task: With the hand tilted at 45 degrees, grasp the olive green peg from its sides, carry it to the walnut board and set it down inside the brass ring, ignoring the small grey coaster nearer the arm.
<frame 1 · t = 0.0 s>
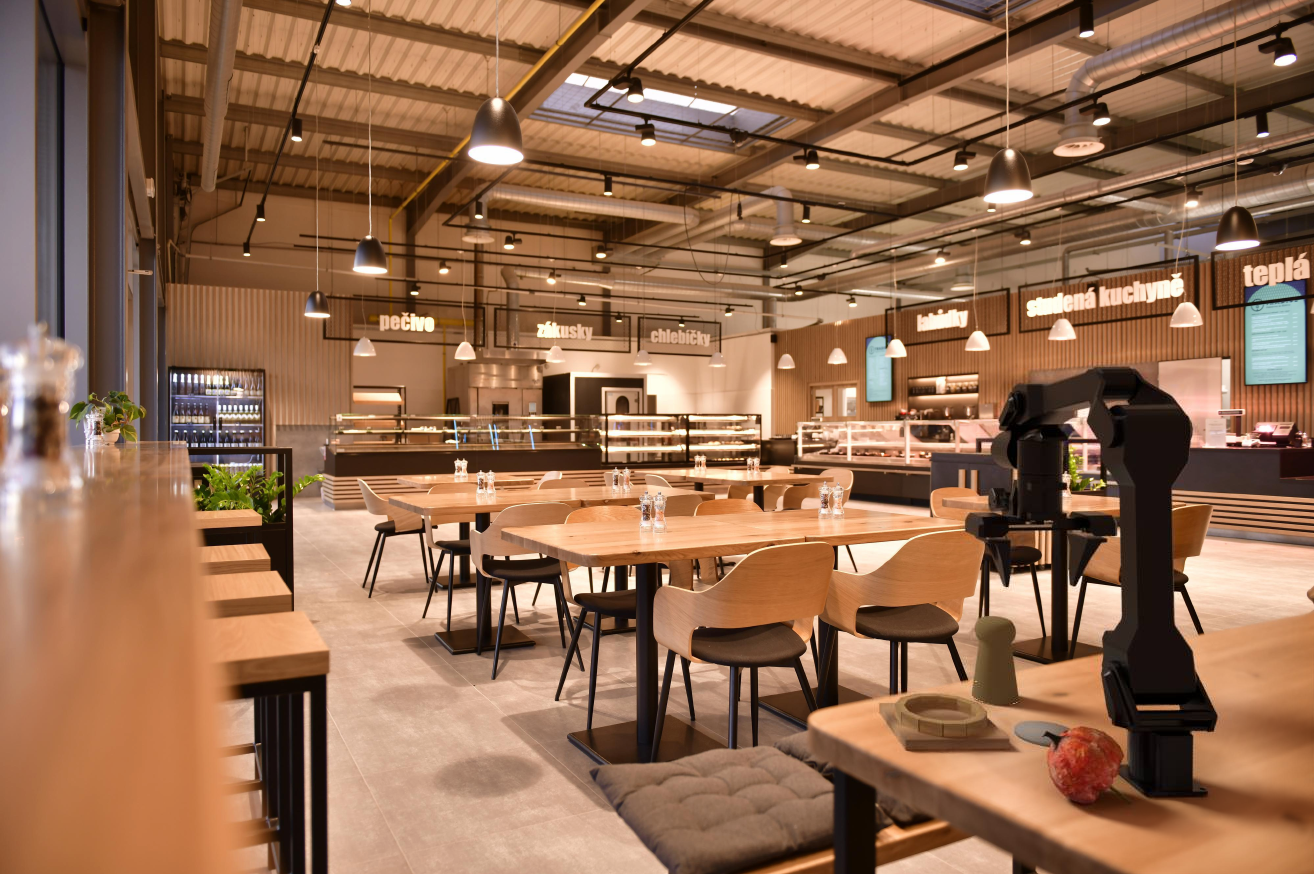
hand: (1039, 586, 116), 15 cm above the table, tool pointing down, fingers open, 9 cm apart
grey coaster: (1045, 734, 101), on the table
hub board: (940, 729, 103), on the table
pomegranate: (1087, 799, 85), on the table
olive green peg: (995, 699, 114), on the table
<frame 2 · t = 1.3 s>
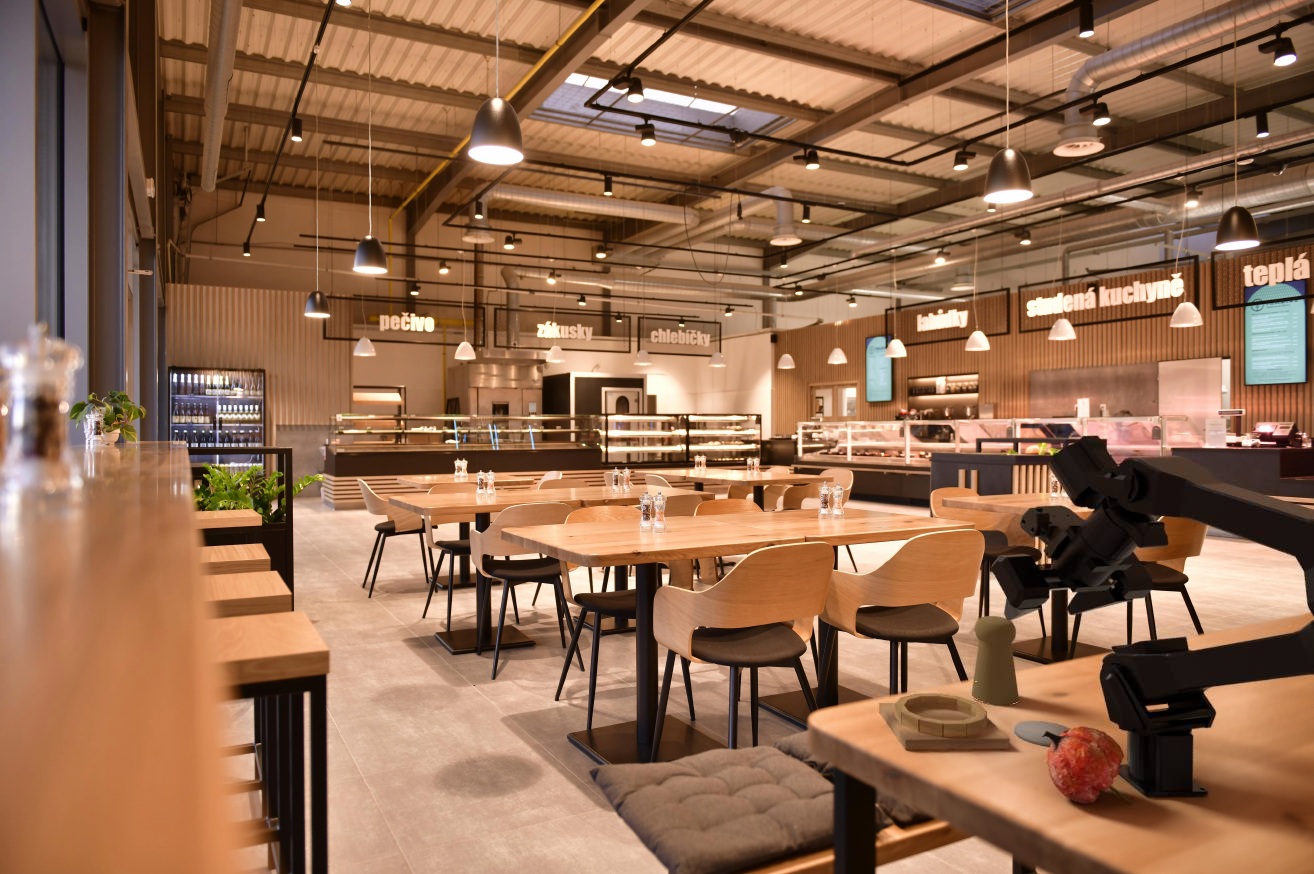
hand: (1038, 614, 105), 13 cm above the table, tool tilted 45°, fingers open, 9 cm apart
nothing on the table moved.
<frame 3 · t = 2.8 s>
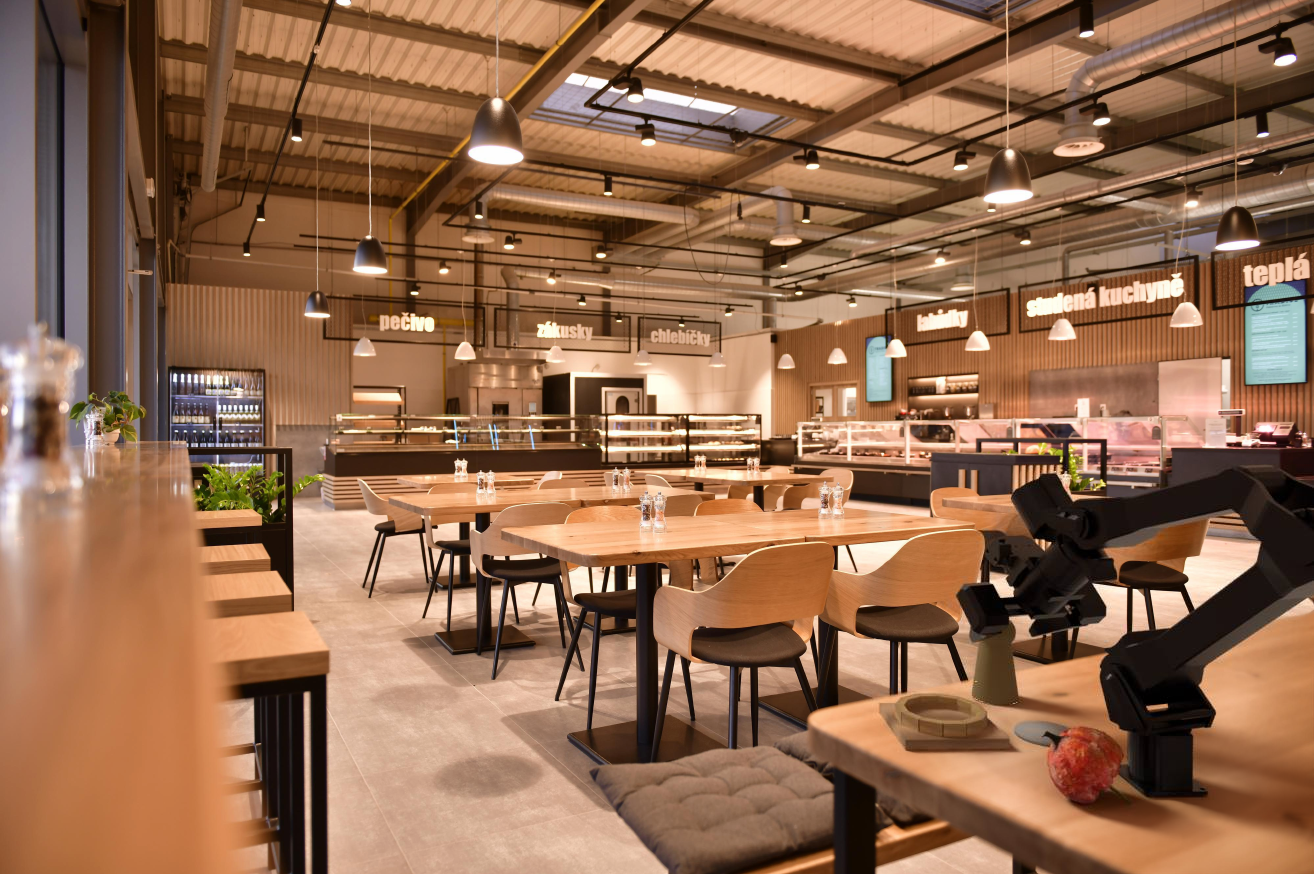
hand: (1001, 636, 112), 9 cm above the table, tool tilted 45°, fingers open, 9 cm apart
nothing on the table moved.
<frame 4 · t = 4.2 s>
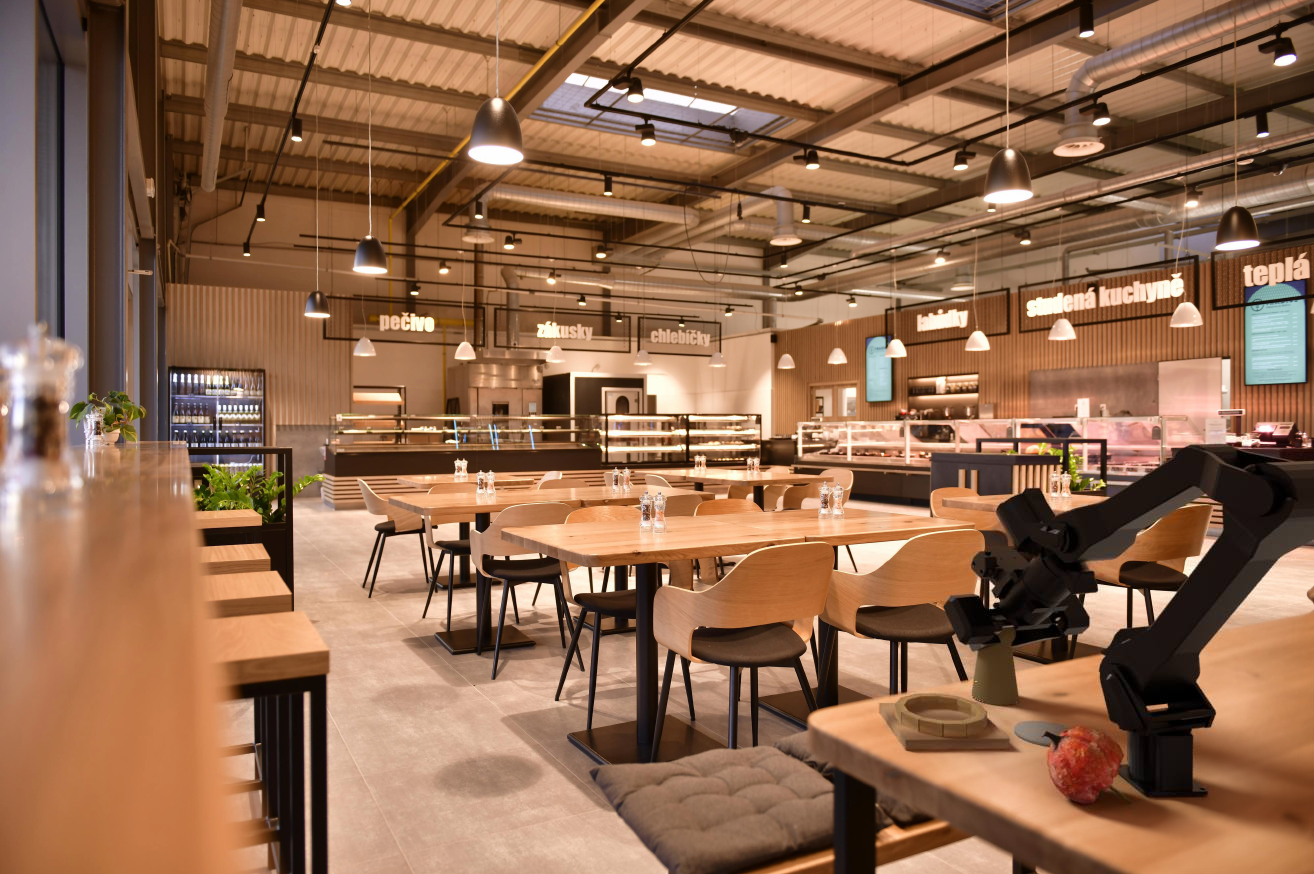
hand: (988, 646, 115), 7 cm above the table, tool tilted 45°, fingers closed on olive green peg, 5 cm apart
olive green peg: (995, 699, 114), on the table, touching gripper
everything else where it was.
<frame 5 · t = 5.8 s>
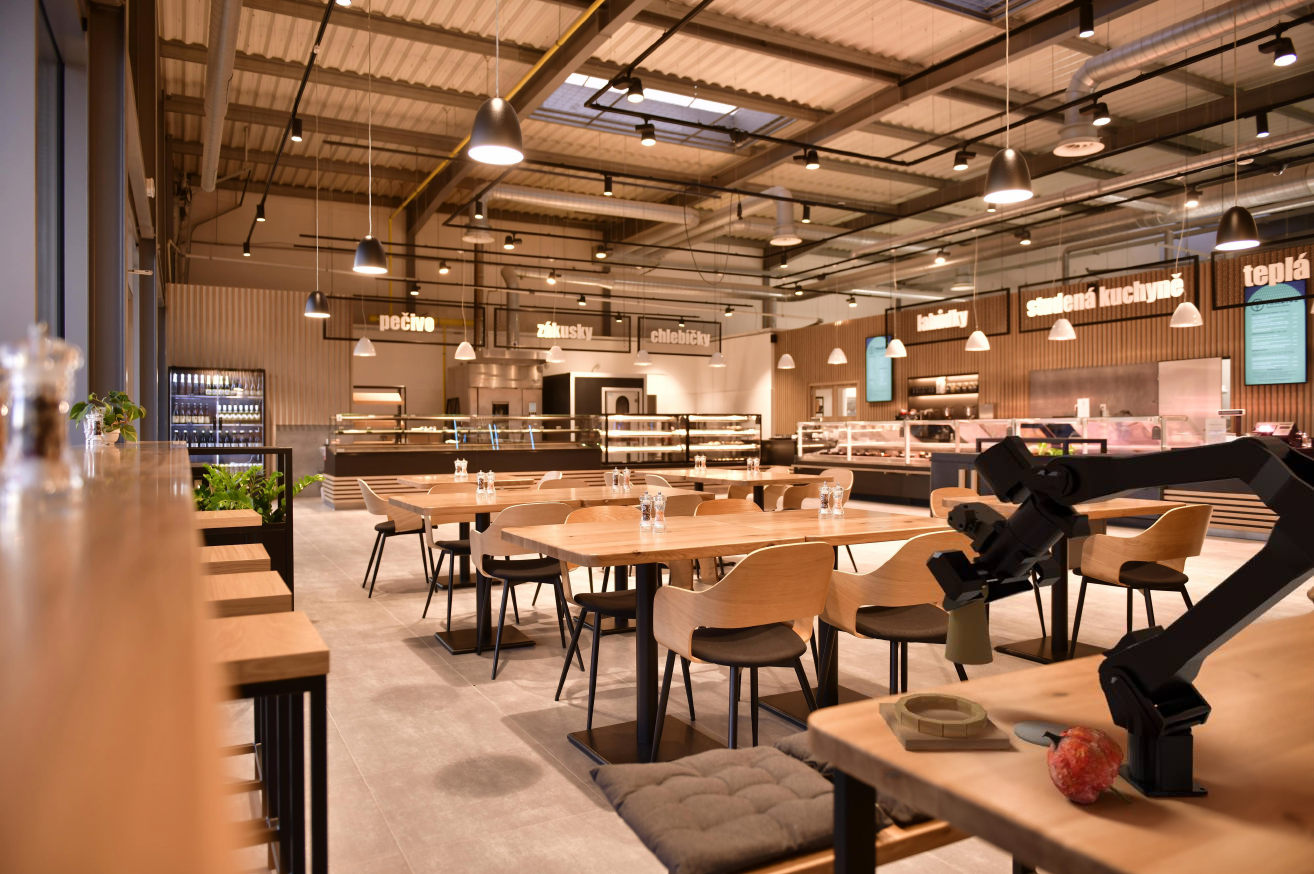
hand: (959, 606, 111), 13 cm above the table, tool tilted 45°, fingers closed on olive green peg, 5 cm apart
olive green peg: (968, 659, 110), point 6 cm above the table, touching gripper
everything else where it was.
when the fingers open (9 cm above the table, at t = 7.7 s): olive green peg drops 1 cm, resting on hub board.
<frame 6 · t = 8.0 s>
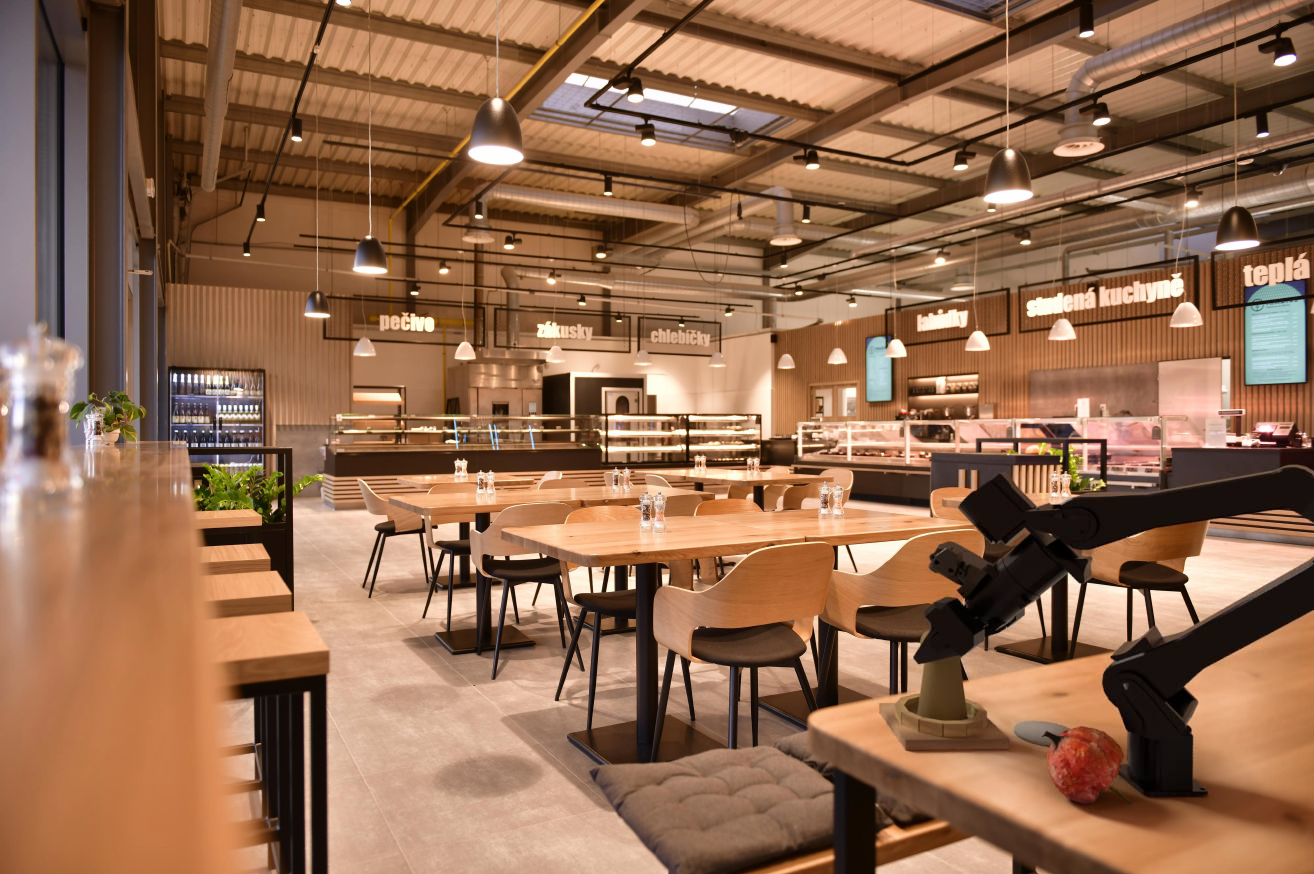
hand: (929, 653, 104), 9 cm above the table, tool tilted 45°, fingers open, 8 cm apart
olive green peg: (942, 721, 103), point 1 cm above the table, touching hub board
everything else where it was.
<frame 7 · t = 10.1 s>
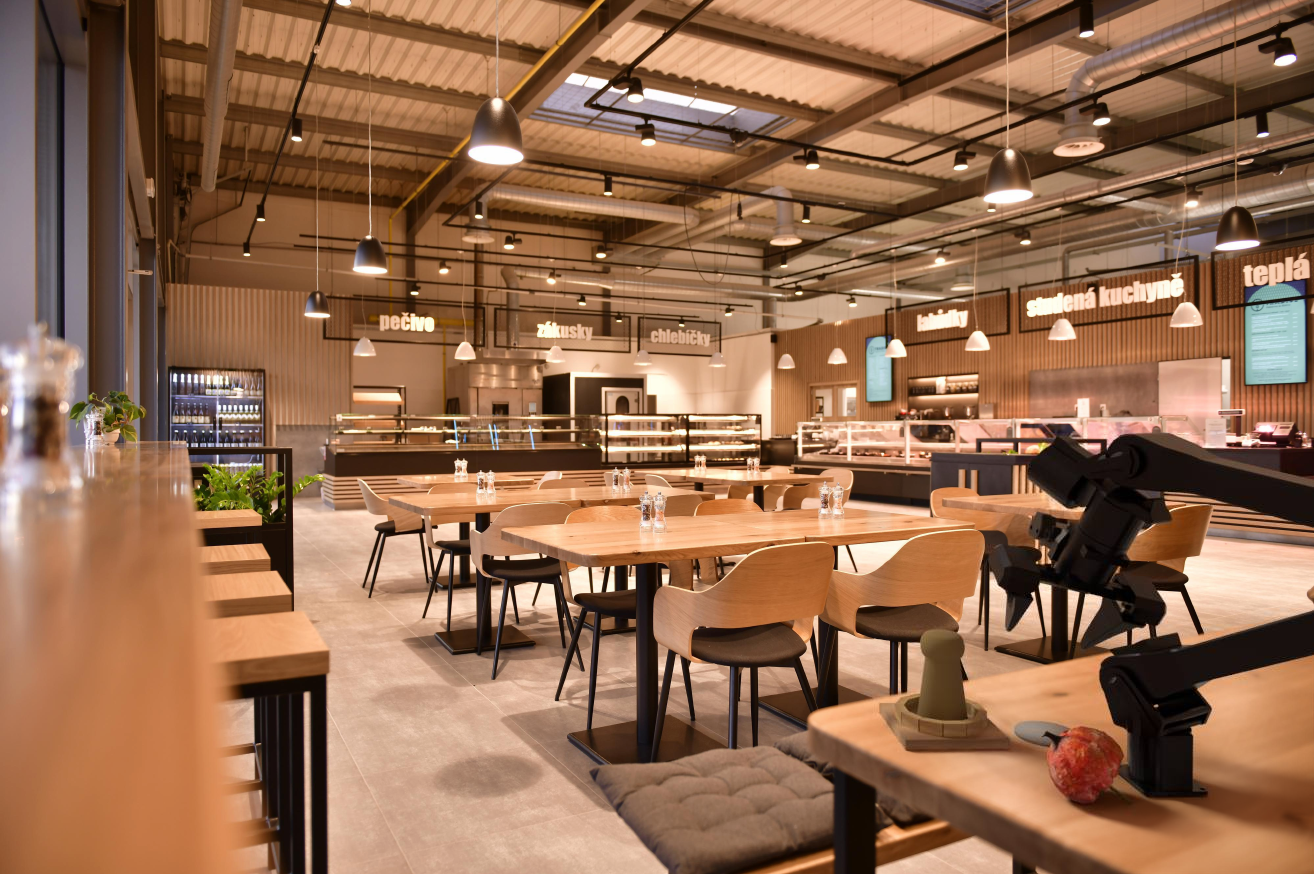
hand: (1044, 638, 100), 12 cm above the table, tool tilted 30°, fingers open, 9 cm apart
nothing on the table moved.
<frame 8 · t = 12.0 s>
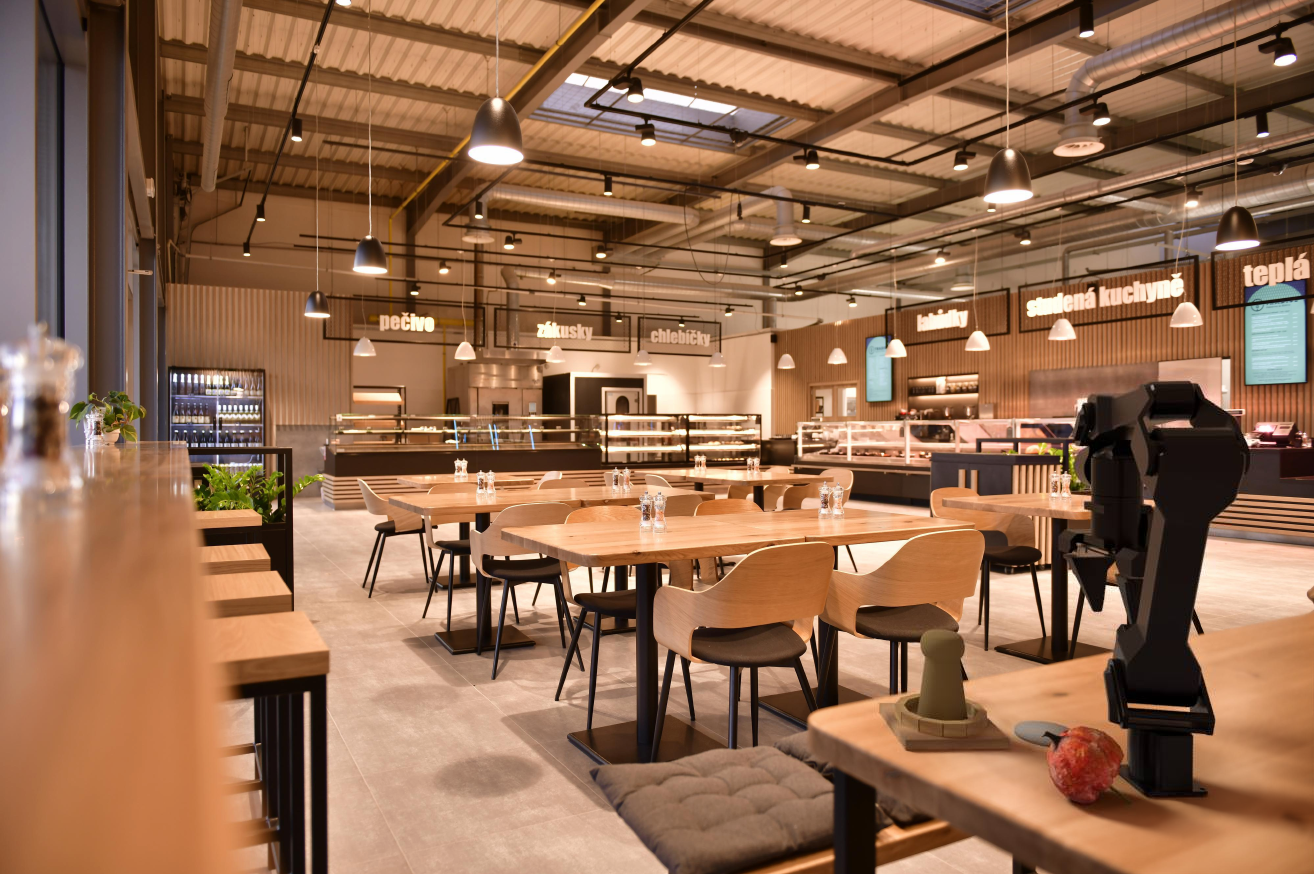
hand: (1116, 620, 103), 13 cm above the table, tool pointing down, fingers open, 9 cm apart
nothing on the table moved.
at the end: olive green peg 0.3 cm from the hub board (horizontally); olive green peg tilted 0°; the gripper is holding nothing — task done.
